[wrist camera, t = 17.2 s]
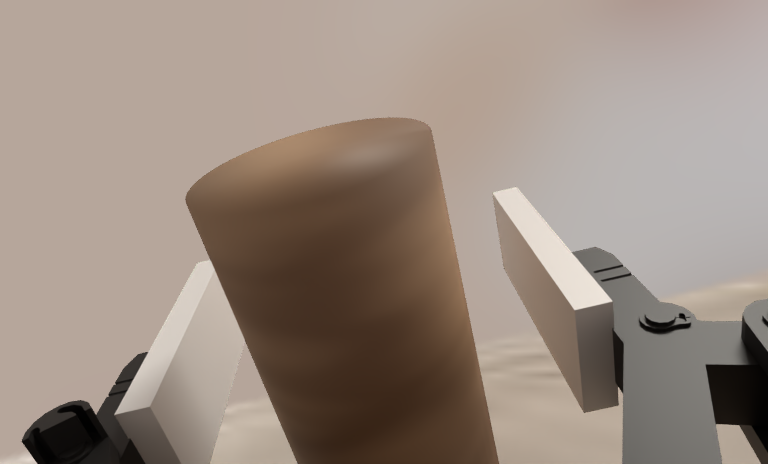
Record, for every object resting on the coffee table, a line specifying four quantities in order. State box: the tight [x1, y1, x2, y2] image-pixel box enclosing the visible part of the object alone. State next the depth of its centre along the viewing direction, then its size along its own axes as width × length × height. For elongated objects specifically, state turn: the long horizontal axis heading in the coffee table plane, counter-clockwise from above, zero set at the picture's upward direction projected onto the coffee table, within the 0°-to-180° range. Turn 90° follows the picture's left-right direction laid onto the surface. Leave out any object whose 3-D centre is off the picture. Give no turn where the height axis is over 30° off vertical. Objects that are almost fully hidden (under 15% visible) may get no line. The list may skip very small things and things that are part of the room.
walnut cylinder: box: [186, 118, 499, 464], centre depth 13 cm, size 5×5×11 cm
